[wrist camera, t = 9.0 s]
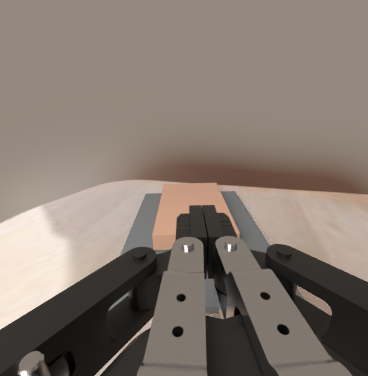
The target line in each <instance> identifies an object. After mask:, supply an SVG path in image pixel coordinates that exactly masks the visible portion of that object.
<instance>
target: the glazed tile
mask: <svg viewBox="0 0 368 376" xmlns="http://www.w3.org/2000/svg"><path fill="white" fill-rule="evenodd" d="M189 205H201V207H202V205H215V208H216V211H217V213H225V214H226V215H227V216H229V218H230V220H231V223H232V225H233V227H234V230H235V232H236V234H237V237H238V238H239V235H240V233H239V230H238V228H237V226H236V224H235V222H234V220H233V218H232V215H231V213H230V211H229V209H228V207H227V205H226V202H225V200H224V198H223V196H222V194H221V192H220V190H219V187H218V185H217V183H191V184H164V186H163V191H162V195H161V199H160V204H159V208H158V212H157V217H156V221H155V225H154V230H153V234H152V239H153V250H157V251H163V250H170V249H172V246H173V243H174V242H175V239H176V222H177V217H178V216H179V215H180V214H182V213H189Z"/></svg>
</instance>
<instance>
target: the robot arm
mask: <svg viewBox="0 0 368 376" xmlns="http://www.w3.org/2000/svg"><path fill="white" fill-rule="evenodd" d="M207 275H208V279H214V295H215V298H216V302H217V306H218V310H219V313H220V317H221V319H219V318H214V317H210V316H205V281H204V279H207ZM297 285H298V286H300V287H302V288H303V289H305V290H307V291H308V292H310V293H312V294H314V295H315V296H317V297H319V298H320V299H322V300H324V301H325V302H326V303H327V304H328V305H329V306H330V308H331V310H332V316H330V315H328V314H327V313H325V312H324V311H322V310H320V309H319V308H317V307H315V306H314V305H312V304H311V303H309V302H307V301H306V300H304V299H302V298H301V297H299V296H298V295H296V290H297ZM127 293H128V296H127V297H126V298H124V299H123V300H122V301H121V302H119V303H118V304H117V305H116V306H114V307H113V308H112V309H111V310H109V309H110V307H111V306H112V305H113V304H114V303H115V302H116V301H118V300H119V299H120V298H121V297H123V296H124V295H125V294H127ZM108 310H109V311H108ZM152 317H153V321H152V325H151V328H150V329H148V330H146V331H144V332H143V333H141V334H140V335H139V336H137V337H136V338H135V339H134V340H133V341H132V342H131V343H130V344H129V345H128V346H127V347H126V348H125V349H124V350H123V351H122V352H121V353H120V354H119V356H118V357H117V358H116V359H115V360H114V361H113V362H112V363H111V364H110V365H109V366H108V367H107V368H106V370H105V371H104V372H103V373H102V374H101V375H100V376H368V282H366V281H364V280H362V279H360V278H357V277H355V276H353V275H351V274H349V273H347V272H344V271H342V270H340V269H338V268H336V267H334V266H331V265H329V264H327V263H325V262H323V261H321V260H318V259H316V258H314V257H312V256H310V255H308V254H305V253H303V252H301V251H299V250H297V249H294V248H292V247H290V246H287V245H282V244H274V245H271V246H269V247H268V248H267V250H266V253H265V252H259V251H254V250H251V249H249V248H248V246H247V244H246V243H245V242H244V241H243V240H242V239H240V238H238V237H237V234H236V232H235V230H234V227H233V225H232V223H231V220H230V218H229V216H227V215H226V214H225V213H217V211H216V208H215V205H202V207H201V205H189V213H182V214H180V215H179V216H178V217H177V222H176V239H175V242H174V243H173V246H172V249H170V250H169V251H167V252H164V253H160V254H156V252H155V251H154V250H153V249H152V248H149V247H136V248H133V249H131V250H129V251H127V252H126V253H124V254H123V255H121V256H119V257H118V258H116V259H114V260H113V261H111V262H110V263H108V264H106V265H105V266H103V267H101V268H100V269H98V270H97V271H95V272H93V273H92V274H90V275H88V276H87V277H85V278H84V279H82V280H80V281H79V282H77V283H75V284H74V285H72V286H71V287H69V288H67V289H66V290H64V291H62V292H61V293H59V294H58V295H56V296H54V297H53V298H51V299H49V300H48V301H46V302H45V303H43V304H41V305H40V306H38V307H36V308H35V309H33V310H32V311H30V312H28V313H27V314H25V315H23V316H22V317H20V318H19V319H17V320H15V321H14V322H12V323H10V324H9V325H7V326H6V327H4V328H2V329H1V330H0V376H94V375H95V374H96V373H97V372H98V371H99V370H100V369H101V368H102V367H103V366H104V365H105V364H106V363H107V362H108V361H109V360H110V359H111V358H112V357H113V356H114V355H115V354H116V353H117V352H118V351H119V350H120V349H121V348H122V347H123V346H124V345H125V344H126V343H127V342H128V341H129V340H130V339H131V338H132V337H133V336H134V335H135V334H136V333H137V332H138V331H139V330H140V329H141V328H142V327H143V326H144V325H145V324H146V323H147V322H148V321H149V320H150V319H151V318H152Z"/></svg>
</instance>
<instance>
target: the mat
mask: <svg viewBox="0 0 368 376" xmlns="http://www.w3.org/2000/svg"><path fill="white" fill-rule="evenodd" d="M221 194H222V196H223V198H224V200H225V202H226V205H227V207H228V209H229V211H230V213H231V215H232V218H233V220H234V222H235V224H236V226H237V228H238V230H239V233H240V235H239V238H240V239H242V240H243V241H244V242H245V243H246V244H247V246H248V248H249V249H251V250H254V251H259V252H265V253H266V250H267V248H268V247H269V244H268V243H267V241H266V239H265V238H264V236H263V235H262V233H261V232H260V230H259V228H258V227H257V225H256V224H255V222H254V221H253V219H252V218H251V216H250V214H249V213H248V211H247V210H246V208H245V207H244V205H243V203H242V202H241V200H240V199H239V197H238V196H237V194H236V192H235V191H231V192H221ZM161 195H162V193H158V194H146V195H145V197H144V200H143V202H142V204H141V207H140V209H139V212H138V214H137V216H136V219H135V221H134V224H133V226H132V228H131V231H130V233H129V236H128V238H127V240H126V243H125V245H124V248H123V250H122V252H121V255H123V254H124V253H126V252H127V251H129V250H131V249H133V248H136V247H149V248H152V249H153V239H152V234H153V230H154V225H155V221H156V217H157V212H158V208H159V204H160V199H161ZM154 251H155V252H156V254H160V253H164V252H167V251H169V250H163V251H157V250H154ZM121 255H120V256H121ZM204 281H205V313H219V310H218V306H217V302H216V298H215V295H214V279H208V275H207V279H204ZM296 295H298V296H299V297H301V298H302V299H303V297H302V296H301V294H300V293H299V291H298V290H296ZM127 296H128V293H127V294H125V295H124V296H123V297H121V298H120V299H119V300H118V301H116V302H115V303H114V304H113V305H112V306H111V307H110V309H109V310H111V309H112V308H113V307H114V306H116V305H117V304H118V303H119V302H121V301H122V300H123V299H124V298H126V297H127ZM109 310H108V311H109Z"/></svg>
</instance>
